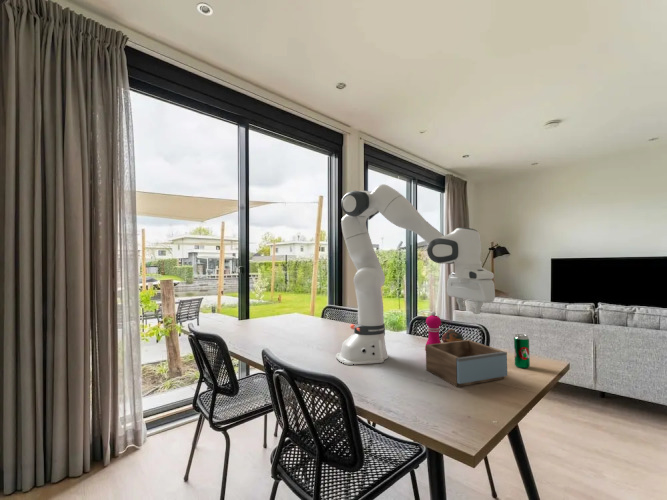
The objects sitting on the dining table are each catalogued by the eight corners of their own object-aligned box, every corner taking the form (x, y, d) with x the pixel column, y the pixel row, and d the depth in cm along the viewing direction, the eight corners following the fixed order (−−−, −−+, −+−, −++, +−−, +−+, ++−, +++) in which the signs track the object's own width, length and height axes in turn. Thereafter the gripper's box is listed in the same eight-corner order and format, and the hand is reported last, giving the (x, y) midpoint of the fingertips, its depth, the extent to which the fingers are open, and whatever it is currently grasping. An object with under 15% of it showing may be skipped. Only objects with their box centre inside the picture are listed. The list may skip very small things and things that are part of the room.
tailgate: (459, 384, 105) (459, 359, 105) (456, 382, 107) (456, 358, 107) (507, 375, 112) (506, 352, 112) (504, 374, 113) (503, 351, 113)
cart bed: (456, 386, 107) (455, 357, 107) (426, 370, 123) (425, 344, 123) (504, 378, 113) (503, 351, 113) (469, 363, 129) (468, 339, 129)
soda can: (517, 363, 128) (516, 333, 128) (531, 366, 125) (530, 335, 125) (512, 366, 125) (511, 335, 125) (527, 370, 121) (526, 337, 121)
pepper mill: (434, 364, 129) (433, 313, 130) (421, 359, 136) (420, 311, 136) (447, 361, 133) (446, 312, 133) (434, 356, 139) (433, 309, 140)
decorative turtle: (460, 344, 157) (459, 327, 157) (467, 353, 142) (467, 335, 142) (439, 343, 159) (439, 327, 159) (444, 353, 144) (444, 334, 144)
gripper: (442, 271, 124) (443, 308, 124) (482, 274, 105) (483, 317, 104) (455, 271, 126) (456, 307, 126) (497, 273, 107) (499, 316, 106)
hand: (469, 312), depth 115 cm, fingers open, 6 cm apart
